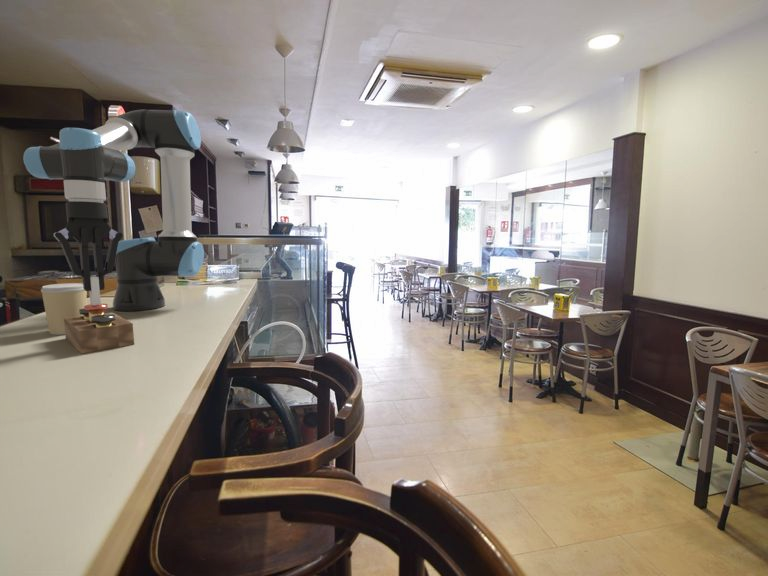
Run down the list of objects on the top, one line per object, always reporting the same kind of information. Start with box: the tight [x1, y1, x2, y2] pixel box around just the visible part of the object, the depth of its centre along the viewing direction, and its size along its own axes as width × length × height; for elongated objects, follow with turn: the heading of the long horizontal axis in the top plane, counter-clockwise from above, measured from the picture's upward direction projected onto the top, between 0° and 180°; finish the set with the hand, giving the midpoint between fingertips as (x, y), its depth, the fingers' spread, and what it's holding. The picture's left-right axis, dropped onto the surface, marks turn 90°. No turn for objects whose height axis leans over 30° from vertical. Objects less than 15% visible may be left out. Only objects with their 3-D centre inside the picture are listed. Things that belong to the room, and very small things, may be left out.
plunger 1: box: [79, 308, 89, 319], centre depth 99 cm, size 4×4×6 cm
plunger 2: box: [91, 314, 115, 328], centre depth 91 cm, size 4×4×6 cm
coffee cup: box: [40, 282, 88, 336], centre depth 104 cm, size 9×9×12 cm
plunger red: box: [84, 303, 108, 323], centre depth 94 cm, size 4×4×6 cm
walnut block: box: [64, 312, 135, 354], centre depth 95 cm, size 10×17×5 cm, turn 47°
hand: (95, 304), depth 94 cm, fingers closed
